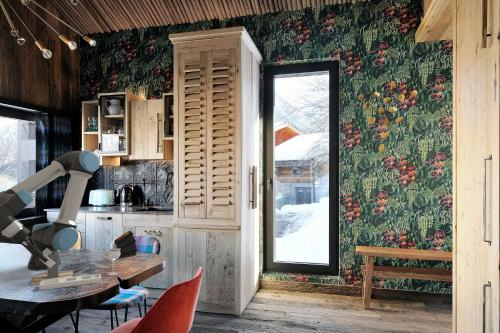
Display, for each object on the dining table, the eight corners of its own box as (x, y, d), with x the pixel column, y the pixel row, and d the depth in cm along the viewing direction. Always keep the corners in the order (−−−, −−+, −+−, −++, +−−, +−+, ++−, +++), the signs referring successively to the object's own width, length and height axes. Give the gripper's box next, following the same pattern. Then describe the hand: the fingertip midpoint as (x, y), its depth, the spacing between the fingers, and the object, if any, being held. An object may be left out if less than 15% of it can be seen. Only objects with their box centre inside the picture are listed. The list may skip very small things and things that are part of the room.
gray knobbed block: (48, 275, 157) (48, 251, 157) (58, 274, 159) (59, 251, 159) (47, 278, 153) (47, 253, 153) (58, 277, 155) (58, 253, 155)
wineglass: (105, 276, 160) (106, 251, 161) (105, 272, 166) (106, 248, 167) (120, 274, 163) (120, 250, 163) (120, 271, 169) (120, 247, 169)
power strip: (40, 286, 145) (41, 279, 145) (100, 279, 156) (100, 273, 156) (38, 291, 139) (39, 284, 139) (101, 283, 150) (101, 277, 150)
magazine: (141, 251, 206) (132, 231, 201) (123, 264, 196) (113, 243, 192) (138, 250, 208) (129, 230, 204) (120, 263, 199) (110, 242, 194)
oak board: (35, 276, 159) (35, 274, 159) (72, 272, 166) (72, 270, 166) (30, 286, 145) (30, 283, 145) (71, 281, 152) (71, 279, 152)
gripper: (14, 234, 159) (49, 261, 166) (3, 243, 137) (44, 275, 143) (27, 222, 162) (62, 250, 168) (19, 230, 140) (59, 261, 146)
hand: (54, 262), depth 156 cm, fingers open, 13 cm apart
